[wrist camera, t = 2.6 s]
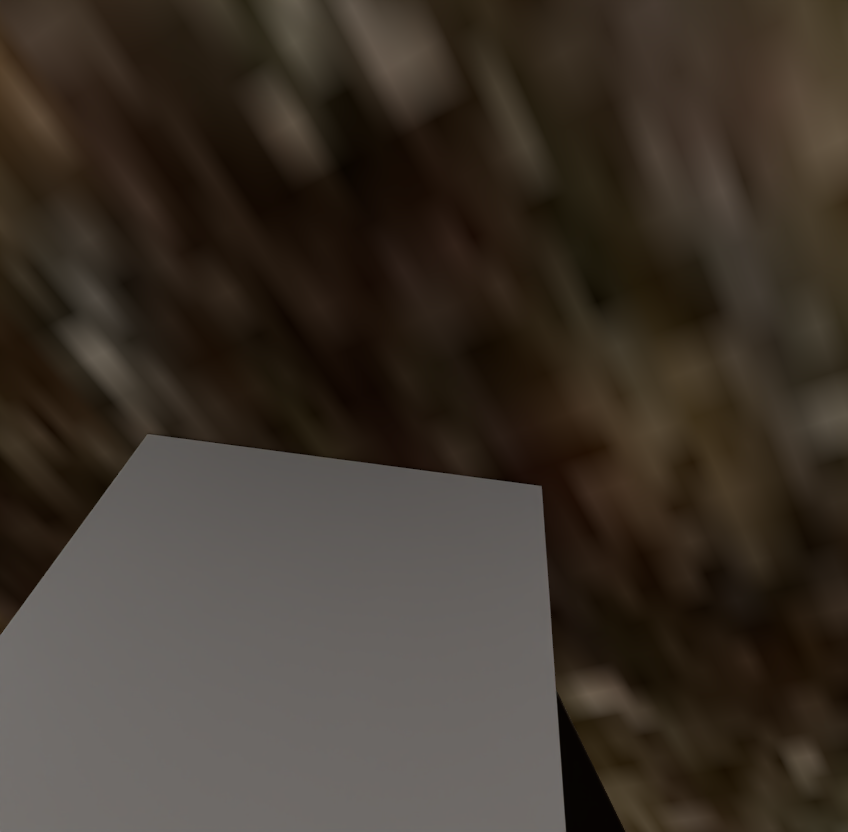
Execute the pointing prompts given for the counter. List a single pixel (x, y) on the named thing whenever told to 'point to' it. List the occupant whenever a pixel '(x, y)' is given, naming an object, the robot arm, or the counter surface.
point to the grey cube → (286, 654)
